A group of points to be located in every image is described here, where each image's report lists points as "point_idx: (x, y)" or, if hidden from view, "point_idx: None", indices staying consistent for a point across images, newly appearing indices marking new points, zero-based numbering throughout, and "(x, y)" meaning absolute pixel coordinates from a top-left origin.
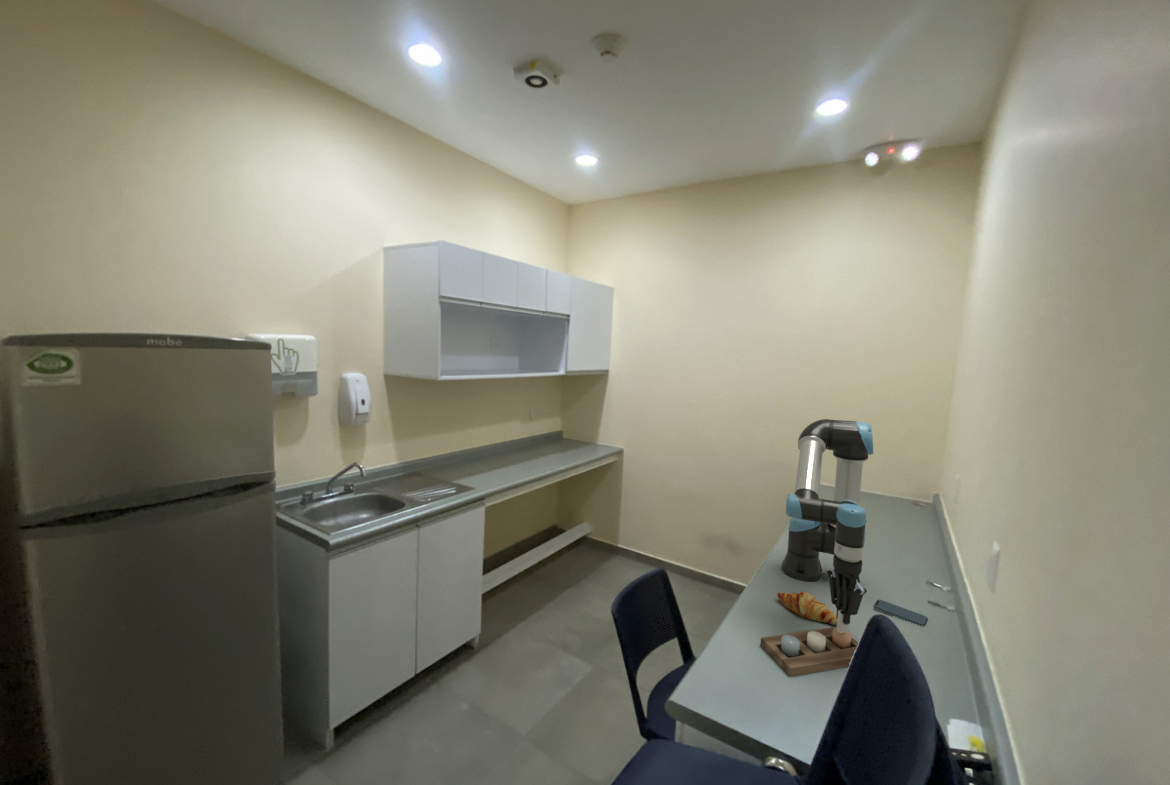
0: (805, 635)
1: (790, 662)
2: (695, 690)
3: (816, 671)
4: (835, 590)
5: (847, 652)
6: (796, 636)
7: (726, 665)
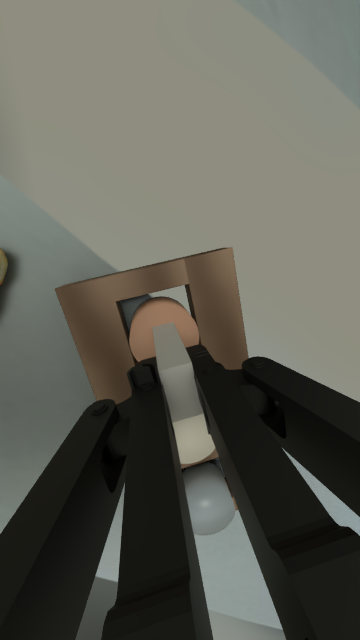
0: None
1: None
2: (274, 614)
3: None
4: (83, 550)
5: (219, 335)
6: None
7: (217, 577)
